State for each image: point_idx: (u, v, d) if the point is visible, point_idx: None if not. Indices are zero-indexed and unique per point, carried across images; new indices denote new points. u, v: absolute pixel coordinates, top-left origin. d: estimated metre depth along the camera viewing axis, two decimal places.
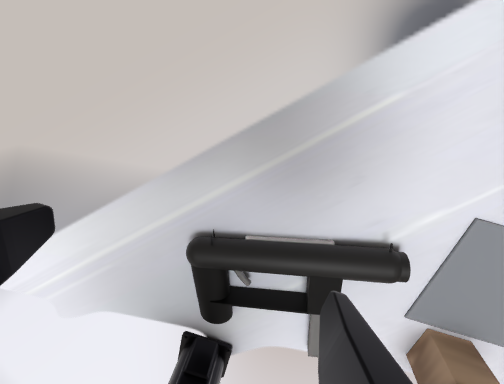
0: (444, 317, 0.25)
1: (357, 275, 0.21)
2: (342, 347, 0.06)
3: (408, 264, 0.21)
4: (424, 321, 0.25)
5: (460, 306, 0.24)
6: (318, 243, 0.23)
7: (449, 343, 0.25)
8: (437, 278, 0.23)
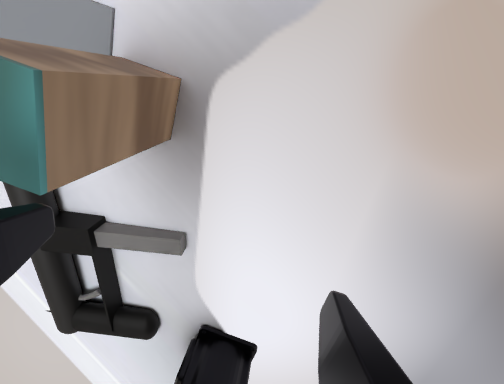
0: None
1: None
2: (342, 347, 0.06)
3: None
4: None
5: None
6: None
7: None
8: None
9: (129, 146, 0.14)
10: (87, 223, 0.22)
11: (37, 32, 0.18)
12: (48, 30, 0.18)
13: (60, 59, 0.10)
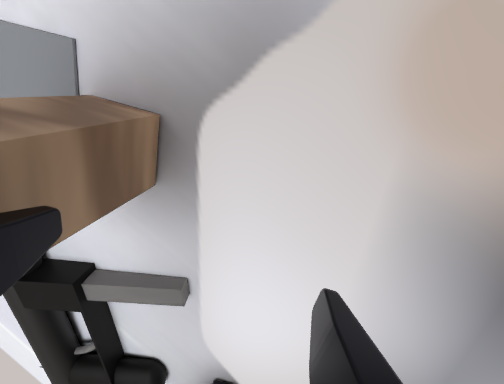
0: None
1: None
2: (332, 344, 0.06)
3: None
4: None
5: None
6: None
7: None
8: None
9: (83, 215, 0.11)
10: (73, 274, 0.19)
11: None
12: (3, 71, 0.15)
13: None
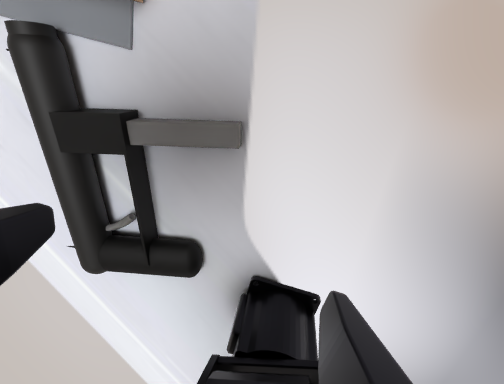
0: None
1: (33, 94, 0.16)
2: (342, 347, 0.06)
3: (5, 24, 0.15)
4: (127, 16, 0.16)
5: None
6: None
7: None
8: (52, 24, 0.17)
9: None
10: (117, 111, 0.17)
11: None
12: None
13: None
